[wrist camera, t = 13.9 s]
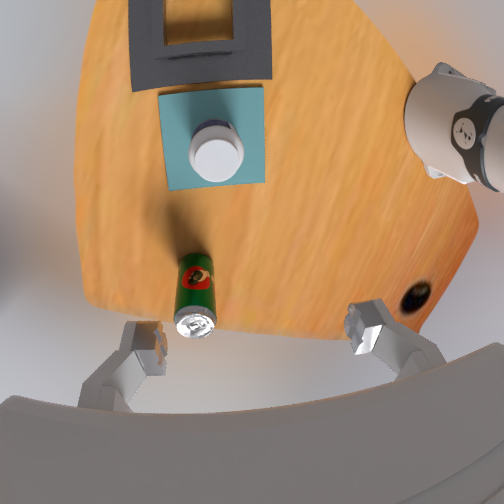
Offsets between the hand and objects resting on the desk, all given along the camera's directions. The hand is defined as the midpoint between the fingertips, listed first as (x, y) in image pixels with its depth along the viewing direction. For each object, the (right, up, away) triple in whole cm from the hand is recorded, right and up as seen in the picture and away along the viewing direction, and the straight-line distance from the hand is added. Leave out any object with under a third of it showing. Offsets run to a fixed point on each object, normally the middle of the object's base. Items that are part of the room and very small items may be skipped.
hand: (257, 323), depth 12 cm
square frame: (-6, +29, +12) cm, 32 cm away
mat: (-5, +16, +21) cm, 27 cm away
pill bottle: (-5, +16, +20) cm, 26 cm away
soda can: (-8, +1, +30) cm, 31 cm away
